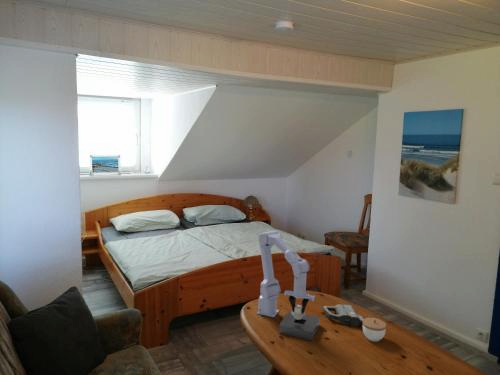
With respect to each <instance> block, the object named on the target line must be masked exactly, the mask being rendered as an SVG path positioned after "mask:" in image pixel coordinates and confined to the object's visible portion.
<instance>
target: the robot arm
mask: <svg viewBox="0 0 500 375" xmlns="http://www.w3.org/2000/svg"><path fill="white" fill-rule="evenodd" d="M258 243H259V249H260V256H261V263H262V264H261V265H262V272H263V281H261V283H260V290H259V292H260V295H259V297H258V303H257V306H258V307H257V315H262V316H267V317H270V318H275V317H276V316H277V314H278V313H279V312H280V311H279V309H277V305H278V304H277V302H278V297H279V295H280V294H281V286H280V284H279V280H278V279H276V278H275V272H274V266H273V256H272V250H271V249H272V247H273V246H276V248H278V249H279V250H280V251H281V252H282V253H283V254H284V258H285V260H286V261H287V262H288V263H289V265H290V266H291V269H292V271H293V276H294V277H293V279H294V280H293V290H285V291H284V293H283V294H284V296H286V297H287V296H288V302H289V304H290V306H291V311H293V312H294V306H295V305H296V300H297V299H299V300H300V299H302V301H301V306H302V314H304V312H305V310H306V307H307V304H308V303H309V301H311V302H314V301H315V295H312V294H309V293H306V291H307V290H306V288H307V276H308V274H307V272H308V271H310V268H311V267H310V263H309V261H307V259H303V258H301V256H299V254H298V253H297V251H296V250H294V249H290V247H288V245H287V243H286V242H284V240H283V239H282V235H281V233H280V232H279V231H278V230H276V229H274V230H271V231H265V232H261V233H260V234H259V235H258Z"/></svg>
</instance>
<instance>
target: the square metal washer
mask: <svg viewBox="0 0 500 375" xmlns="http://www.w3.org/2000/svg"><path fill="white" fill-rule="evenodd" d="M291 312H292V310H288V312H287V313H286V315H285V316H284V317H283V319H282V320H281V321H280V324H279V325H278V326H279V327H278V333H279V334H283V335H287V336H292V337H296V338H299V339H304V340H308V341H313V339H314V337H315V335H316V333H317V331H318V329H319V327H320V317H319V316H314V315H311V314H310V315H309V314H306V313H305V316H303V317H302V319H301V320H297V319H295V318H294V316H293V315H292V314H291Z"/></svg>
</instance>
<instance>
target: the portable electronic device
mask: <svg viewBox="0 0 500 375" xmlns="http://www.w3.org/2000/svg"><path fill="white" fill-rule="evenodd" d="M321 309H322V311H323V313H324V314H325V315H326V317H328V318H329V319H330V320H333V321H334V320H335V321H337V322H339V324H341V325H350V326H351V327H358V326H361V327H363V320H364V319H365V318H364V316H362V315H361V314H359V313H357V312H356V310H355V309H354V307H353V306H352V305H351V304H339V303H338V304H336V305H334V306H333V305H324V306H323V307H322V308H321ZM333 312H334V313H333Z"/></svg>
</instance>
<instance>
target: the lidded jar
mask: <svg viewBox="0 0 500 375" xmlns="http://www.w3.org/2000/svg"><path fill="white" fill-rule="evenodd" d="M386 331H387V323H386V322H385V321H383V320H382V319H379V318H376V317H365V318H364V320H363V326H362V332H363V334H364V336H365V338H366V339H367V340H368V341H370V342H373V343H374V342H375V343H376V342H380V341H381V340H383V338H384V337H385V335H386Z"/></svg>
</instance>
